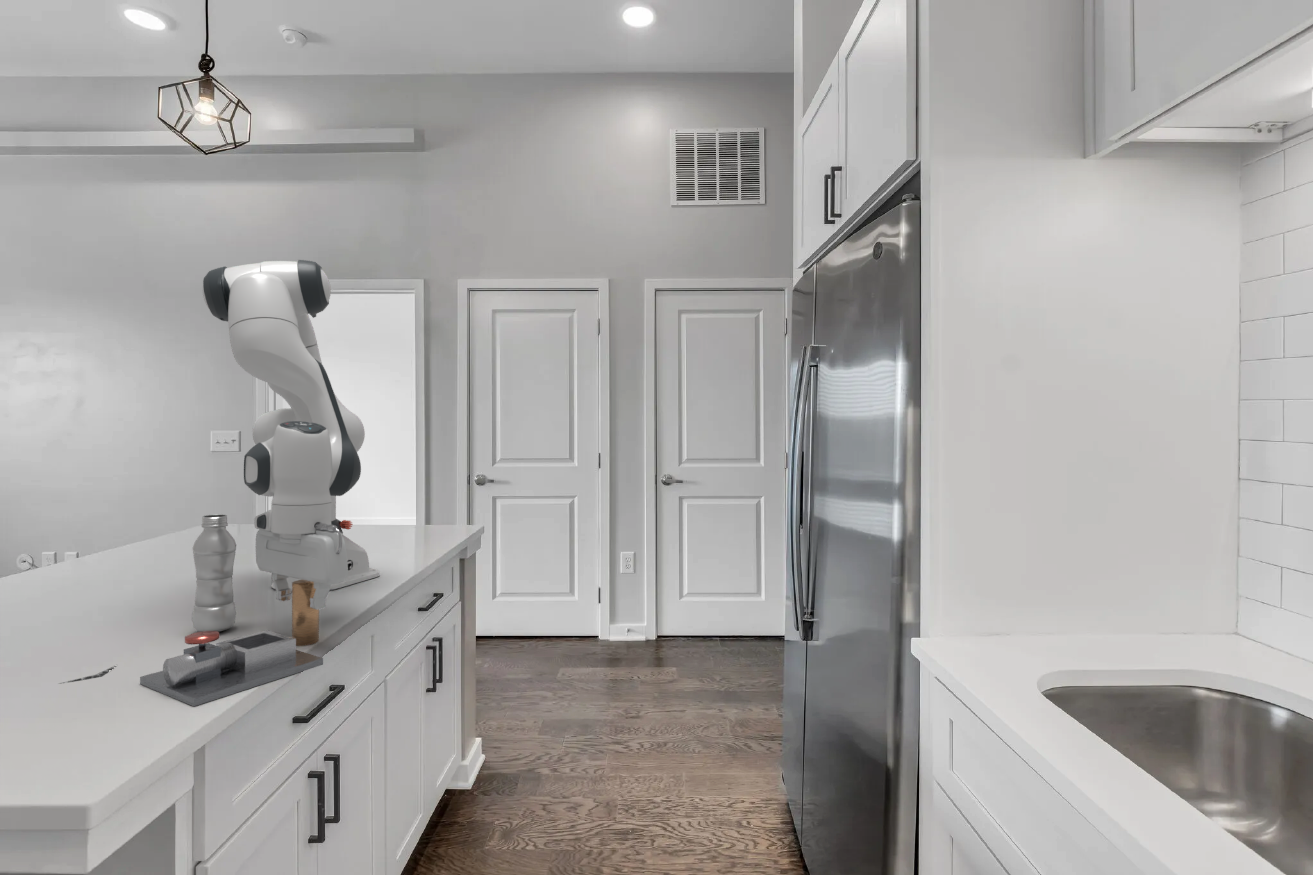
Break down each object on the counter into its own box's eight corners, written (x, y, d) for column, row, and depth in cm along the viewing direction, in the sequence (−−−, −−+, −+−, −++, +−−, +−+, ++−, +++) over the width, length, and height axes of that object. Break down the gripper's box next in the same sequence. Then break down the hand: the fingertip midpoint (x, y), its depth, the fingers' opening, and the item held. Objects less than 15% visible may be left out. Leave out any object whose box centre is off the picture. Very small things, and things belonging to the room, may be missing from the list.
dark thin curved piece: (50, 691, 91) (25, 688, 93) (50, 696, 91) (25, 693, 93) (147, 659, 103) (124, 657, 105) (148, 664, 103) (124, 662, 105)
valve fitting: (268, 647, 110) (268, 605, 110) (323, 664, 103) (323, 619, 103) (140, 683, 95) (140, 635, 95) (193, 706, 88) (193, 653, 88)
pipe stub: (309, 636, 116) (309, 577, 116) (324, 640, 114) (324, 581, 114) (286, 642, 113) (286, 582, 113) (301, 647, 111) (301, 585, 111)
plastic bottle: (230, 623, 123) (231, 512, 123) (241, 632, 118) (241, 516, 118) (188, 630, 118) (188, 515, 118) (196, 639, 114) (196, 519, 113)
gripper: (358, 523, 110) (357, 609, 110) (285, 513, 121) (283, 592, 121) (322, 528, 105) (320, 618, 105) (248, 517, 115) (246, 599, 115)
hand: (300, 604), depth 113 cm, fingers open, 8 cm apart
